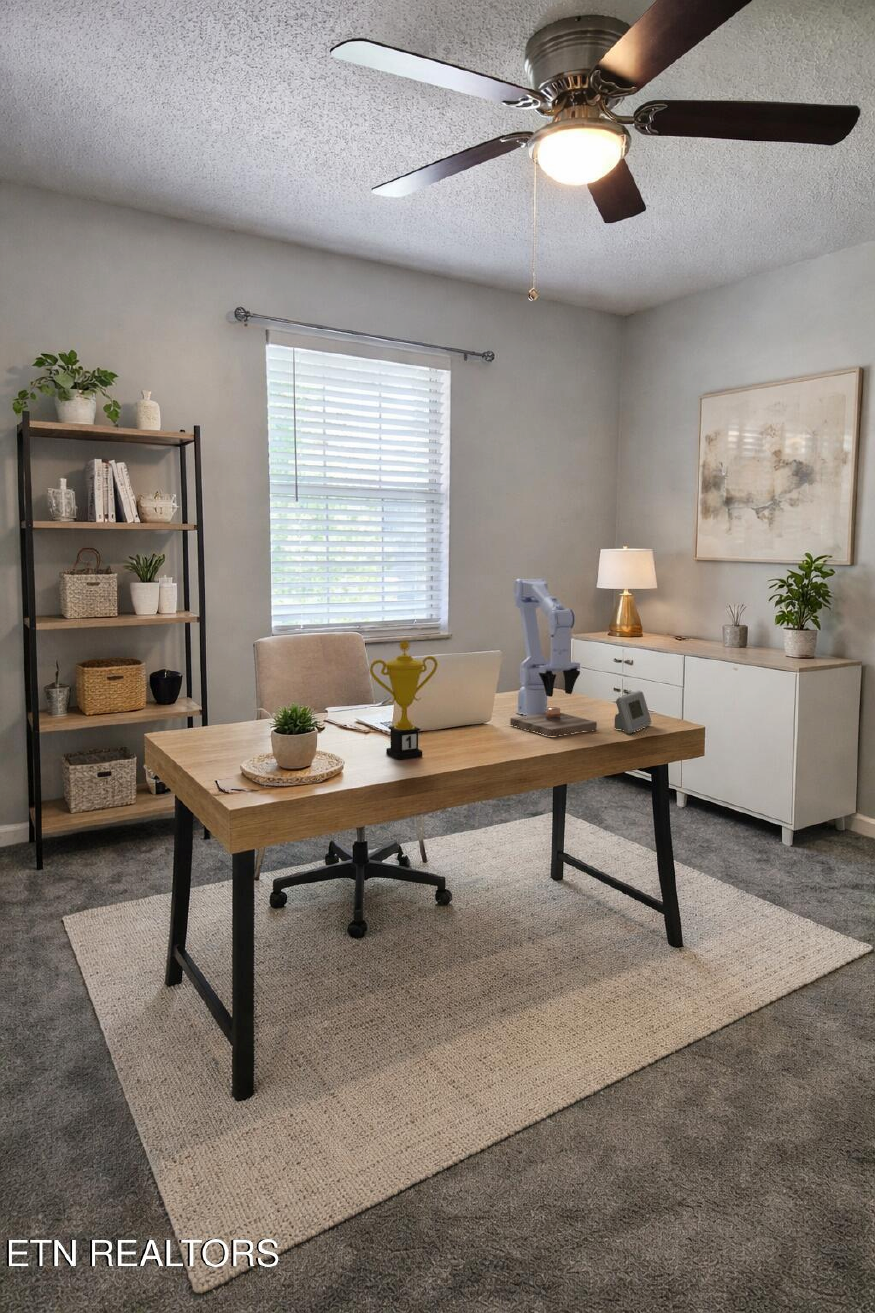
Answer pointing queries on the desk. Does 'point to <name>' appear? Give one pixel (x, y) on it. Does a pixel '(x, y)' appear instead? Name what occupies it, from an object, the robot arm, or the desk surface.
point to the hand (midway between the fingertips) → (558, 694)
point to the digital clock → (632, 712)
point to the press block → (553, 724)
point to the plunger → (553, 712)
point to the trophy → (404, 700)
